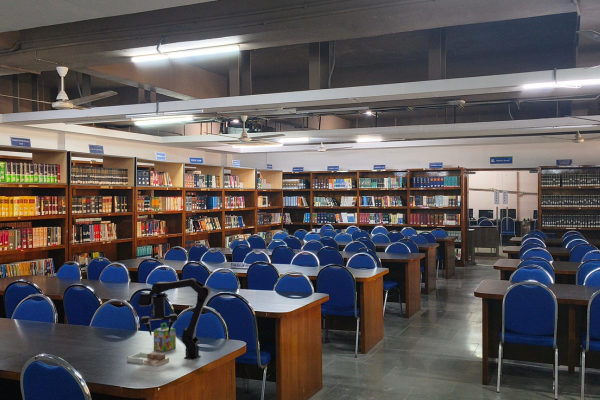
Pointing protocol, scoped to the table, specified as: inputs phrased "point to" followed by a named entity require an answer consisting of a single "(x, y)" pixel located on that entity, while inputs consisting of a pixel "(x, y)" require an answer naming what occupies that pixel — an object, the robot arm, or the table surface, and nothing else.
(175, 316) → the robot arm
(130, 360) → the tray
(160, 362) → the beige square slab
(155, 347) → the chalk box
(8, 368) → the table surface
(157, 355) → the tile
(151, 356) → the tile
